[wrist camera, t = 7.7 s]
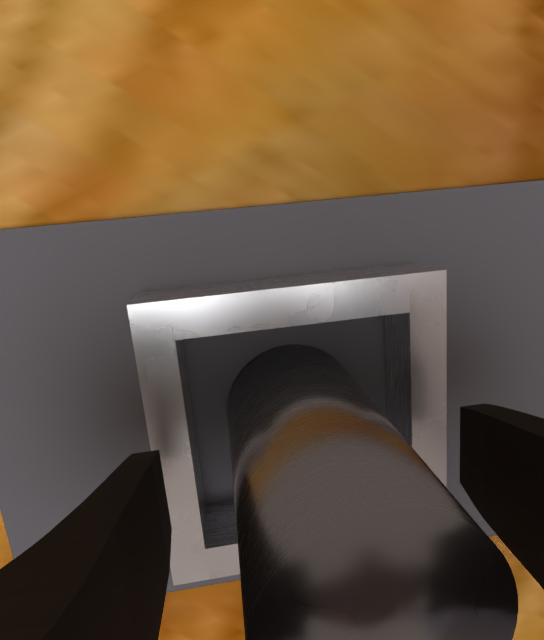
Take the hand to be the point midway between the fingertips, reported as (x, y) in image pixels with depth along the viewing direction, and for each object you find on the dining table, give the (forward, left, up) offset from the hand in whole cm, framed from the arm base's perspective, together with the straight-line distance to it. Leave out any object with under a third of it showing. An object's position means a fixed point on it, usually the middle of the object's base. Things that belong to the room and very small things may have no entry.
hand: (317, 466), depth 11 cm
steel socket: (0, 0, -4) cm, 4 cm away
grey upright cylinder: (0, 0, -4) cm, 4 cm away
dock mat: (0, 0, -4) cm, 4 cm away
